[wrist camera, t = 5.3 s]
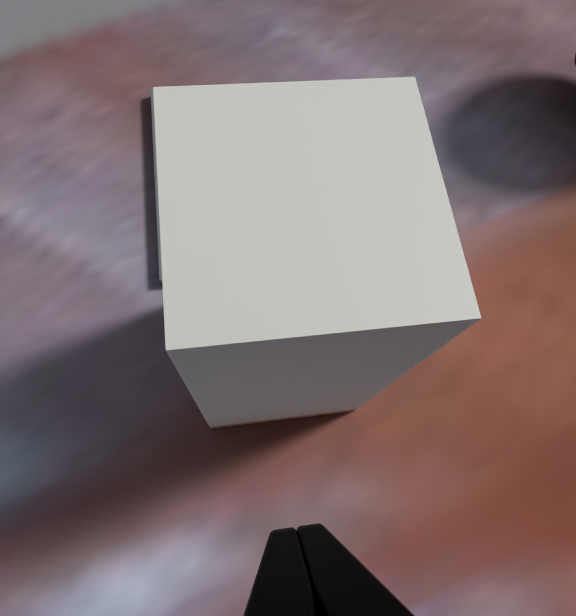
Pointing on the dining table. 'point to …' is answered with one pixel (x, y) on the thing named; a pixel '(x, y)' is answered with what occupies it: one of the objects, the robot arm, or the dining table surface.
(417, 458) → the dining table surface
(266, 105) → the block
